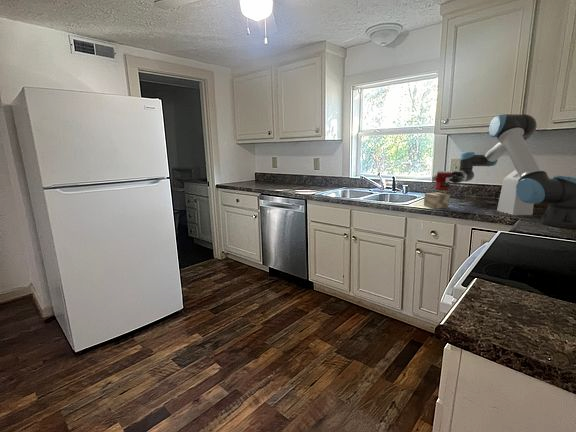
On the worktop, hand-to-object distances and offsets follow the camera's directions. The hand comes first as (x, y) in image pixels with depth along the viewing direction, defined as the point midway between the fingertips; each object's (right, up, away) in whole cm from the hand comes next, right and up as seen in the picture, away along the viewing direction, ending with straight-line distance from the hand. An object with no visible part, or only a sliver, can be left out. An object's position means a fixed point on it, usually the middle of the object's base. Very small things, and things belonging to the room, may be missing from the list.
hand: (439, 179), depth 190 cm
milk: (+36, -20, -12) cm, 43 cm away
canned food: (+4, -6, +4) cm, 8 cm away
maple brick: (+1, -16, +6) cm, 17 cm away
